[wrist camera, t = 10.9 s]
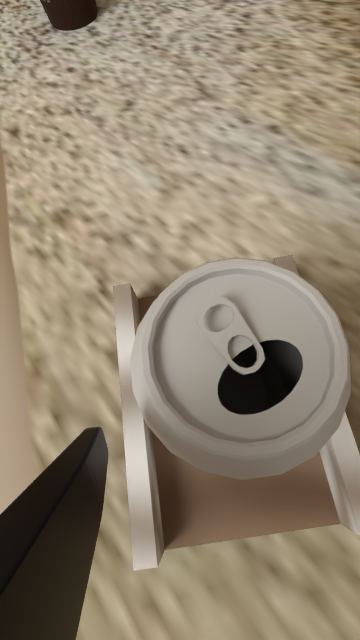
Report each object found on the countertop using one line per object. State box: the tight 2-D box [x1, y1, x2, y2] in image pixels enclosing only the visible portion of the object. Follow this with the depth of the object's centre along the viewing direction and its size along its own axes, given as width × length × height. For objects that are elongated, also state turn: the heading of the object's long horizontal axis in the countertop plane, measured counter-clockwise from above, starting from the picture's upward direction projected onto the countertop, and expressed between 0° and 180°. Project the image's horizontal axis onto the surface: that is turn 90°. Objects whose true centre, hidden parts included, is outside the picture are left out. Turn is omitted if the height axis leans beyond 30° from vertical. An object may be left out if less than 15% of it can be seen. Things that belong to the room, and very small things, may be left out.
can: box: [130, 258, 351, 480], centre depth 14 cm, size 8×8×12 cm
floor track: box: [113, 255, 360, 571], centre depth 19 cm, size 16×12×4 cm
